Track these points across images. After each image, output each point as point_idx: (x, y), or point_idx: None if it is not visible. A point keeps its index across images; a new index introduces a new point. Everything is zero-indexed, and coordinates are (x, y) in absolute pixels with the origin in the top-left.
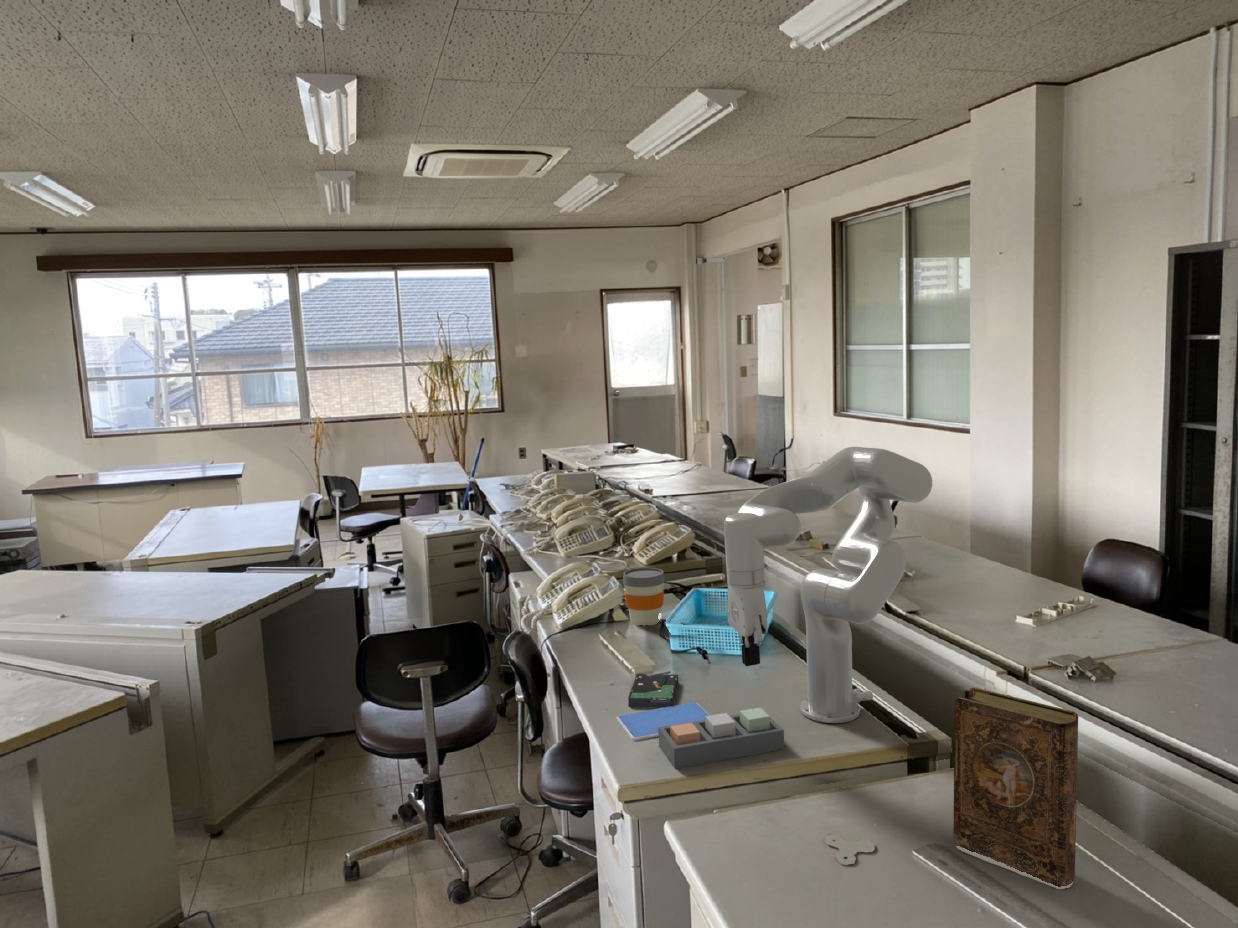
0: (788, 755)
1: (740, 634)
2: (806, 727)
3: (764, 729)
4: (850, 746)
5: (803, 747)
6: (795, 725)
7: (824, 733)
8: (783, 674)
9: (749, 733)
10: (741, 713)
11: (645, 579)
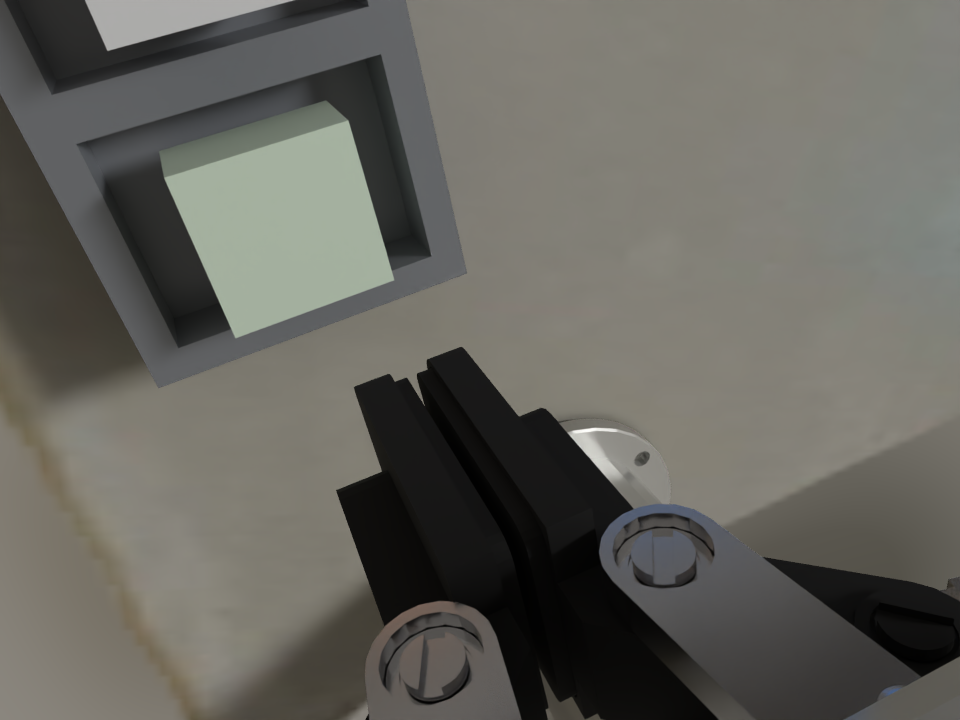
0: (66, 346)
1: (781, 641)
2: None
3: None
4: (200, 607)
5: (181, 422)
6: None
7: None
8: (916, 356)
9: (76, 152)
10: (308, 130)
11: None
